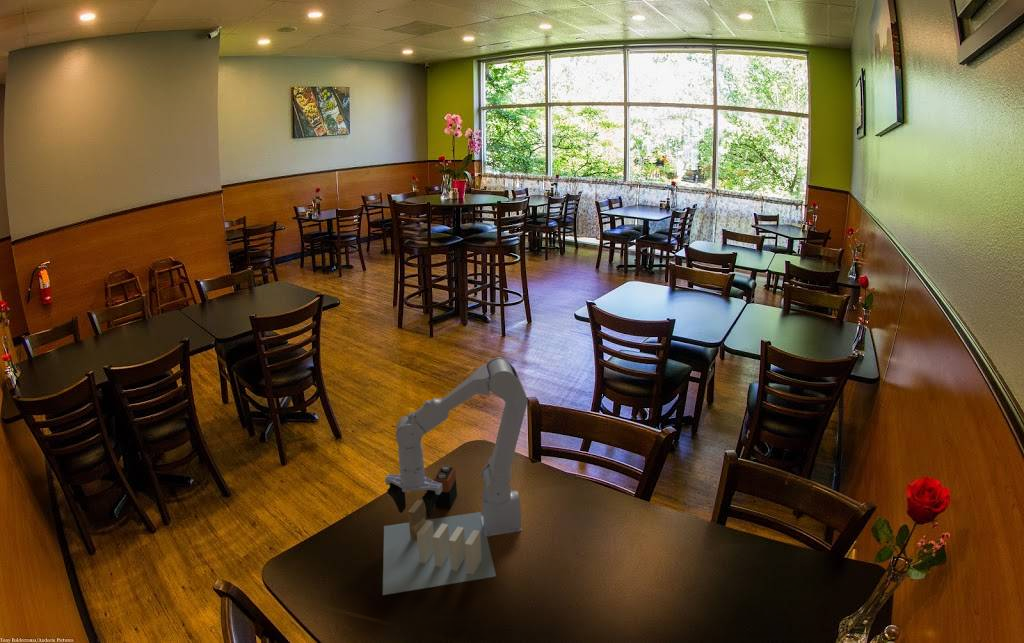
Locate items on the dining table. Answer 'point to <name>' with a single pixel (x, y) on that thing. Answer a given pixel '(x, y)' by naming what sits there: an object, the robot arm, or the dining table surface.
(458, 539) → the domino
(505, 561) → the dining table surface
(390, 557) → the mat
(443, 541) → the domino
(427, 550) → the domino
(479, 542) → the domino
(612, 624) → the dining table surface
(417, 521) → the oak domino
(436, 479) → the battery
